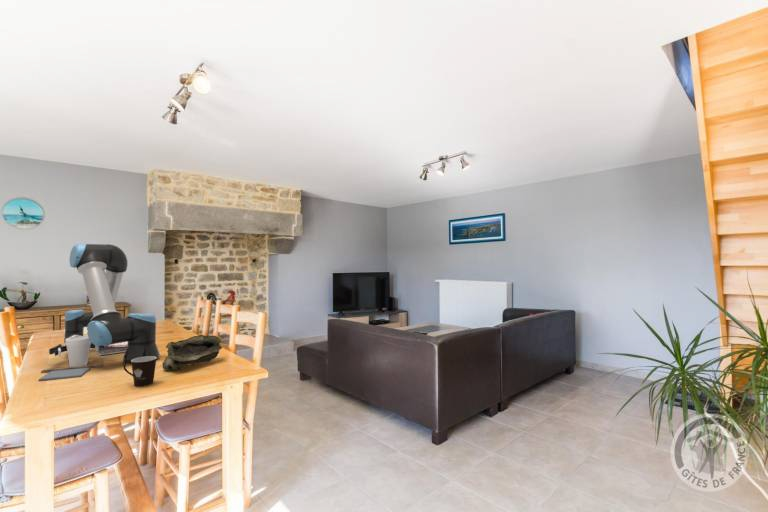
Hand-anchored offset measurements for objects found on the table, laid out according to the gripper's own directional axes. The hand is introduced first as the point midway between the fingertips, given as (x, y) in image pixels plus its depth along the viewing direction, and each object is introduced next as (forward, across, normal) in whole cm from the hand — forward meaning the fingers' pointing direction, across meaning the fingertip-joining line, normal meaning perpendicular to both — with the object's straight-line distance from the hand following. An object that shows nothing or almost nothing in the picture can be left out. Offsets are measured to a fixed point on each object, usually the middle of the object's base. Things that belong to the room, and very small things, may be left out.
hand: (79, 351), depth 170 cm
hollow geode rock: (+33, -40, -8) cm, 52 cm away
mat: (+11, +5, -8) cm, 14 cm away
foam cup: (-3, 0, -8) cm, 8 cm away
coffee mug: (+46, -16, -8) cm, 49 cm away
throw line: (+3, +2, -8) cm, 8 cm away
